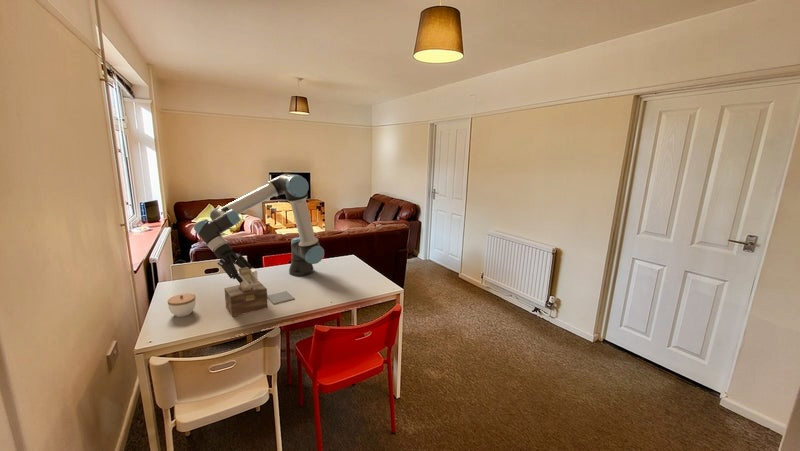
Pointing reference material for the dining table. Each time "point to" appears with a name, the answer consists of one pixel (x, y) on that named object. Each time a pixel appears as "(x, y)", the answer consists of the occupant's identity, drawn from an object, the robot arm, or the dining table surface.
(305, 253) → the robot arm
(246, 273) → the wooden block
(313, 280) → the dining table surface
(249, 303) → the brown square frame
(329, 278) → the dining table surface
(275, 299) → the mat
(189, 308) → the lidded jar
